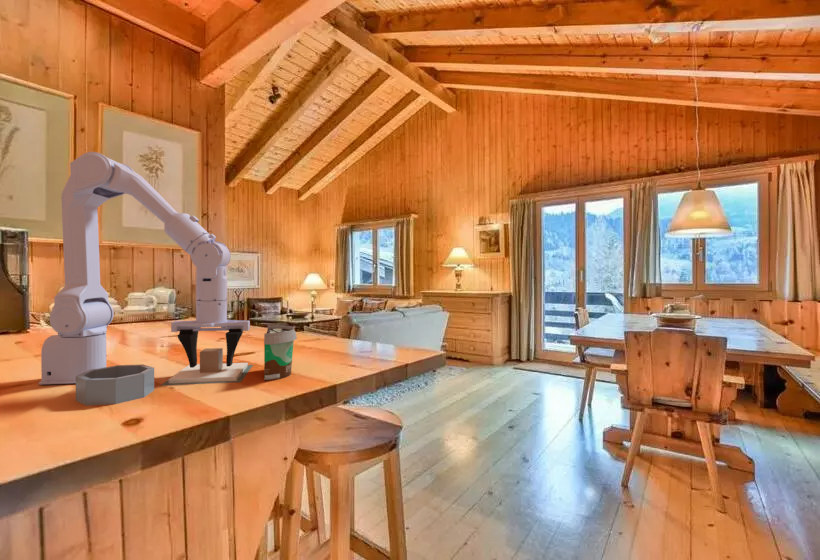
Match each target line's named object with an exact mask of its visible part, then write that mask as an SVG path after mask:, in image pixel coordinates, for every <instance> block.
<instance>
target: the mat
mask: <svg viewBox="0 0 820 560" xmlns="http://www.w3.org/2000/svg"><path fill="white" fill-rule="evenodd" d="M253 366H254V365H253V364H248V366H247V368H246V369H245V370H244V372H243V373H242V374H241V376H240V377H239V378H238V379H237V381H218V382H194V383H169V379H167V380H166V381H165V382H162V384H161V386H183V385H207V384H226V383H227V384H228V383H229V384H230V383H231V384H233V383H242V382H243V380H244V378H245V377H246V376H247V374H248V373H249V372H250V371H251V369H252V368H253Z"/></svg>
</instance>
